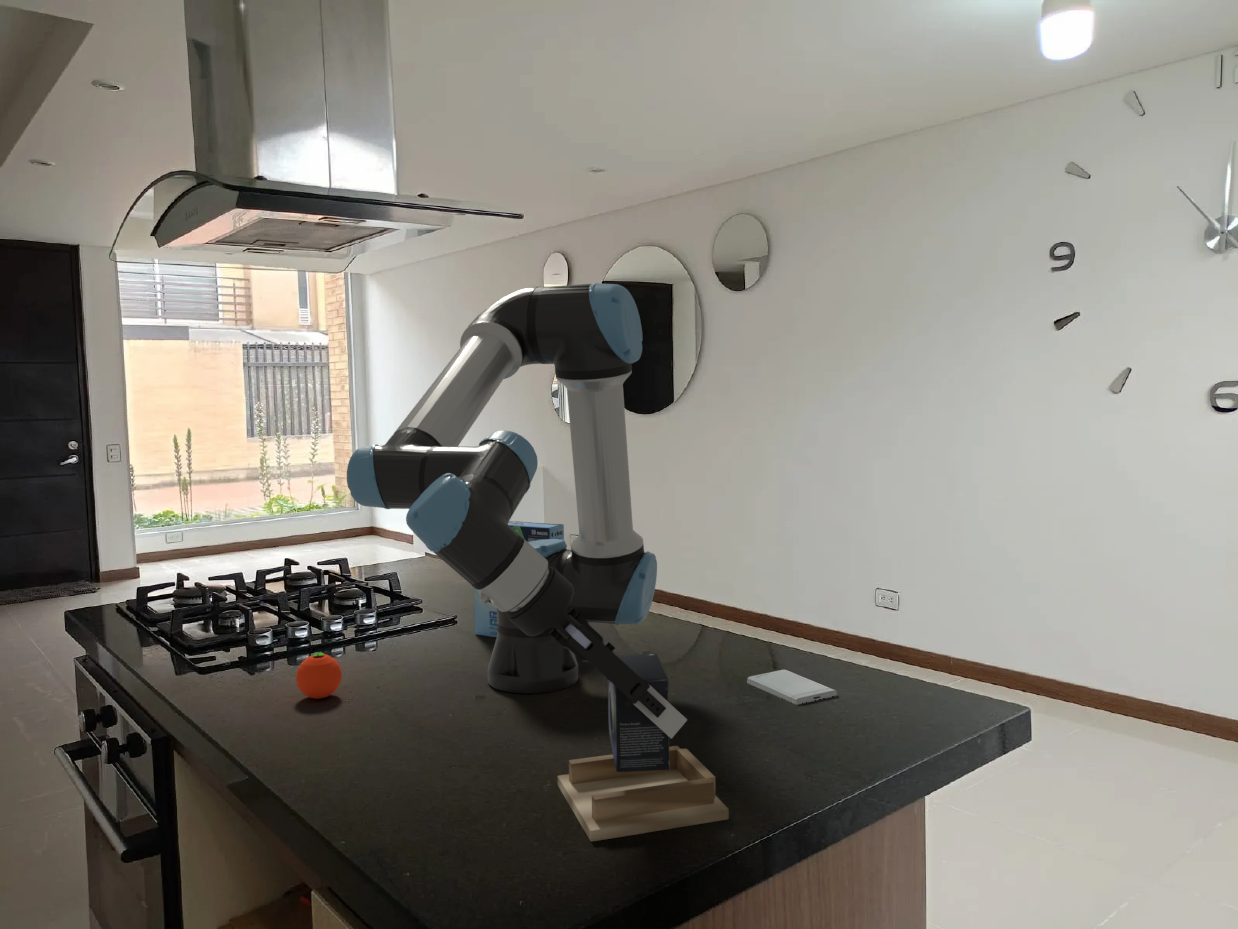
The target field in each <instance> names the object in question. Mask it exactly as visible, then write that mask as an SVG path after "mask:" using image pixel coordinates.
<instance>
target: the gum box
mask: <svg viewBox="0 0 1238 929" xmlns="http://www.w3.org/2000/svg"><path fill="white" fill-rule="evenodd" d="M508 525H509V526H510V527H512V528H513V529H514V530H515V531H516V532H517V533H518V534H519V535H520V536H521V537H522V538H524V539H525V540H526V541H527V542H530V541H537V540H545V539H563V540H564V541H565V527H564V524H563V523H544V522H543V523H542V522H531V521H516V520H515V521H514V520H509V522H508ZM472 588H473V590H472V591H473V609H474V610H473V611H474V612H473V613H474V616H473V617H474V634H475V635H478V636H484V637H490V638H496V639H497V608H496V607H495V606H494V605H493V604H492V603H491V600H489V601H488V602H487V603H485V604H483V603H482V602H481V601H480V597H481V596H482V593H480V592H479V591H478V590H477V589H475V588H474V587H473V586H472Z"/></svg>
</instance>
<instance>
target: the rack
mask: <svg viewBox="0 0 1238 929" xmlns="http://www.w3.org/2000/svg"><path fill="white" fill-rule="evenodd" d="M669 753H670V770H656V771H635V772H616V768H615V763H614V758H613V753H612V754H606V755H599V756H590V757H584V758H583V757H582V758H576V759H569V760H568V774H560V775H557V786H558V789H559V790H560V792H561V794H562V795H563V797H564V799H565V800H566V803H567V804H568V805H569V807H570V809H571V810H572V812H573V814H574V815H575V818H577V820H578V823H579V824H580V826H581V828H582V829H583V831H584V832H585V834H586V835H587V837H588V839H589V841H590V842H599V841H602V840H603V841H604V840H608V839H609V840H610V839H615V838H622V837H628V836H634V835H641V834H646V833H647V834H648V833H652V832H658V831H665V830H672V829H677V828H683V827H689V826H690V827H691V826H695V825H701V824H707V823H715V822H720V821H721V822H722V821H727V820H729V819H730V818H729V816H730V814H729V812H730V810H729V807H727V806H726V804H725V803H723V801H721V799H720V798H719V797H718V796H717V795H716V776H715V775H714V774H713V773H712V772H711V771H710V770H709V769H708V768H706V766H705V765H703V763H702V762H701V761H699V759H698V758H697V757H696V756H694V754H692V752H690V750H689V749H688V748H680V746H678V745H673V746H669Z"/></svg>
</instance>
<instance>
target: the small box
mask: <svg viewBox="0 0 1238 929" xmlns="http://www.w3.org/2000/svg"><path fill="white" fill-rule="evenodd" d="M616 656H617V657H619V658H620V659H621V660H622V661H623V662H624V663H625V664H626V665H627V666H628V667H629V668H630V669H632V670H633V671H634V672H635V673H636V674H637V675H638V676H639V677H640V678H641V679H642V680H646V681H647V682H648V683H649V685H650V686H651V687H653V688H654V689H655V690H656V691H657V692H658V693H659V694H660V695H661V696H662V697H663V698H664V699H666V700H667V701H668V702H669V689H670V688H669V686H670V683H669V681H670V680H669V678H668V675H667V673H666V671H665V669H664V666H663V664H662V661H661V660H660V657H659V655H658V653H655V652H653V653H636V654H623V655H622V654H620V655H616ZM627 700H628V699H627V696H626V695H625V694H623V693H622V692H621V691H620V690H619V689H618V688H617V687H616V686H615V685H614V684H613V683H612V682H610V681H609V680H608V679H607V711H608V712H607V714H608V715H607V716H608V734H609V740H610V745H611V751H612V752H611V753H612V754H613V758H614V763H615V768H616V772H635V771H656V770H670V753H669V747H670V737H669V736H668V735H667V734H666V733H664V732H663V731H662V730H661V729H660V728H659V727H658V726H657V725H656V724H655V723H654V722H652V721H651V720H650V719H649V718H648V717H647V716H646V715H645V714H644V713H643V712H641V711H640V710H639V709H638V708H637V707H636V706H635V705H634V704H632V705H631V707H630V708H628V707H627V706H626V705H625V702H626V701H627Z"/></svg>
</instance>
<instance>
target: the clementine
mask: <svg viewBox="0 0 1238 929" xmlns="http://www.w3.org/2000/svg"><path fill="white" fill-rule="evenodd" d="M295 675H296V676H295V679H296V686H297V687H298V689H299V691H300V692H301V693H302V694H303V695H304V696H306V697H308V698H310V699H318V700H319V699H323V698H327V697H329V696H331V695H332V694H333V693H335V692H336V690H337V689H338V688H339V687H340V684H341V681H342V676H343V674H342V667H341V666H340V664H339V662H338V661H337V660H336V659H335V658H334V657H332V656H331V655H329V654H326V653H324V652H318V653H314V654H312V655H310V656H308V657H307V658H305V659H303V661H302V662H301V663H300V664H299V666H298V668H297V670H296V674H295Z"/></svg>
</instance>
